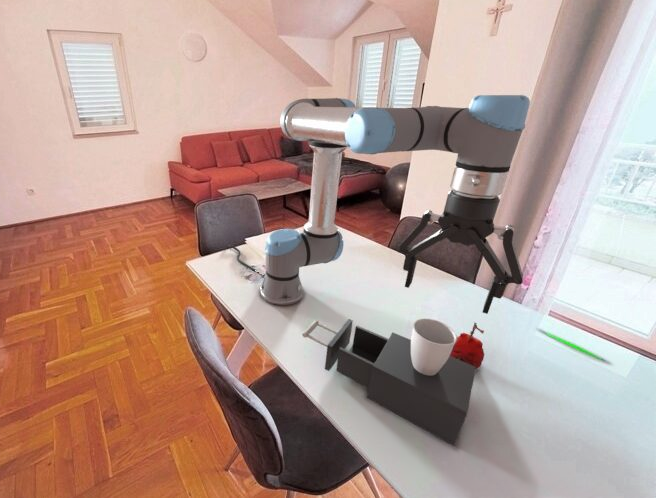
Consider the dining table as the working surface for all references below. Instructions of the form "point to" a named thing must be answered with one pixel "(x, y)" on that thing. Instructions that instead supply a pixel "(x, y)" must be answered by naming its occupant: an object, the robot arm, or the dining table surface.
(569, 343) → the leaf
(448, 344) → the cup
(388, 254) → the dining table surface
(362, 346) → the drawer
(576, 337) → the dining table surface
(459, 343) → the red fruit with stem
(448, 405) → the grey storage cabinet
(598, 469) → the dining table surface
